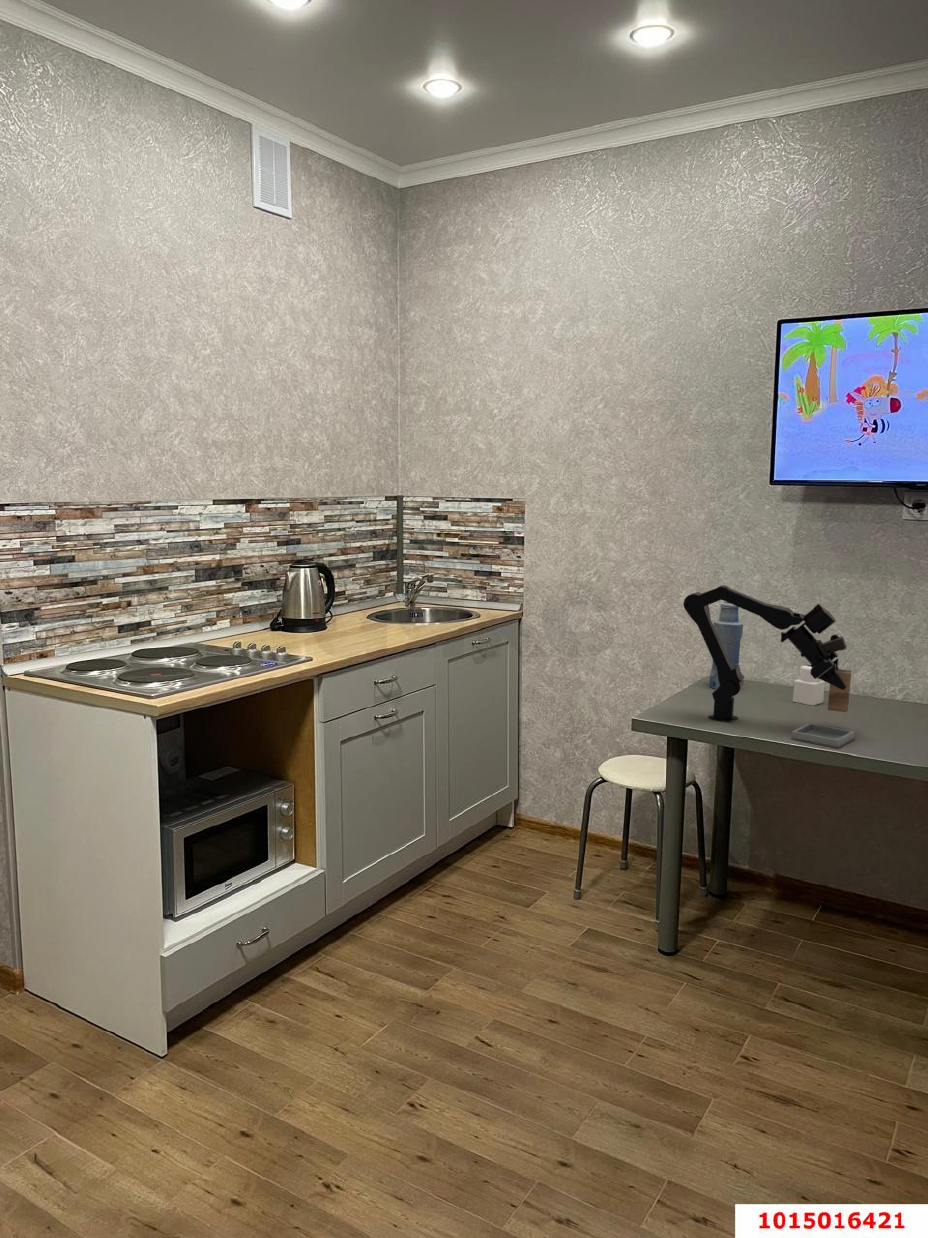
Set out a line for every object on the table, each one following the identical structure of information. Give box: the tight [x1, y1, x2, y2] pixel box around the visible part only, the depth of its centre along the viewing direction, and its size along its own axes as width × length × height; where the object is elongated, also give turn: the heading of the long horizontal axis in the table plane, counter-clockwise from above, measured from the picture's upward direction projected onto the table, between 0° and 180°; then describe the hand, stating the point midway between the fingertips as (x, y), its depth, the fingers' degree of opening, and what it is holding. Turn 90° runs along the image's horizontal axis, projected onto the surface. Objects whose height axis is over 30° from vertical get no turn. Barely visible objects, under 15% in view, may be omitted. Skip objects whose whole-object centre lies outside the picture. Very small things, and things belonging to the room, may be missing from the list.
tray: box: [791, 722, 856, 750], centre depth 255 cm, size 13×13×2 cm
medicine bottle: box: [792, 664, 826, 707], centre depth 298 cm, size 7×7×12 cm
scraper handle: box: [827, 668, 852, 713], centre depth 260 cm, size 5×5×11 cm
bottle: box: [708, 600, 744, 690], centre depth 316 cm, size 10×10×30 cm
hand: (845, 687), depth 260 cm, fingers closed on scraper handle, 5 cm apart
